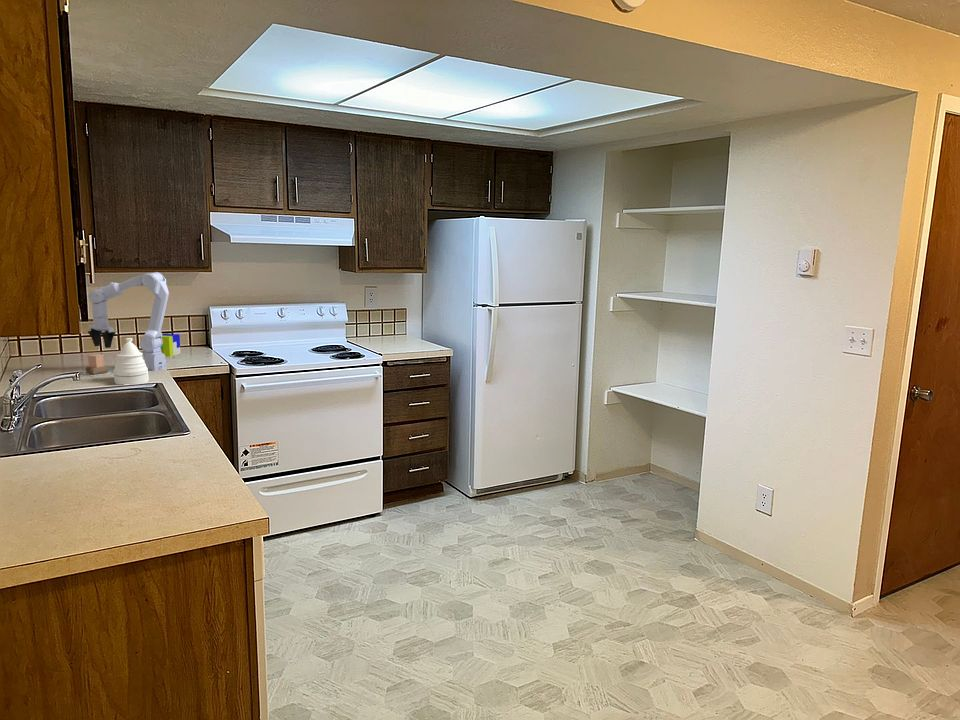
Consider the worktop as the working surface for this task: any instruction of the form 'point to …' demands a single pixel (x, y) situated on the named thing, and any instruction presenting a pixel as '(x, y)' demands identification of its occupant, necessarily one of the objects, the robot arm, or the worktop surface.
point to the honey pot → (130, 365)
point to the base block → (96, 370)
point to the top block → (95, 360)
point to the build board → (110, 371)
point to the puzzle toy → (170, 344)
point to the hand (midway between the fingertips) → (102, 346)
